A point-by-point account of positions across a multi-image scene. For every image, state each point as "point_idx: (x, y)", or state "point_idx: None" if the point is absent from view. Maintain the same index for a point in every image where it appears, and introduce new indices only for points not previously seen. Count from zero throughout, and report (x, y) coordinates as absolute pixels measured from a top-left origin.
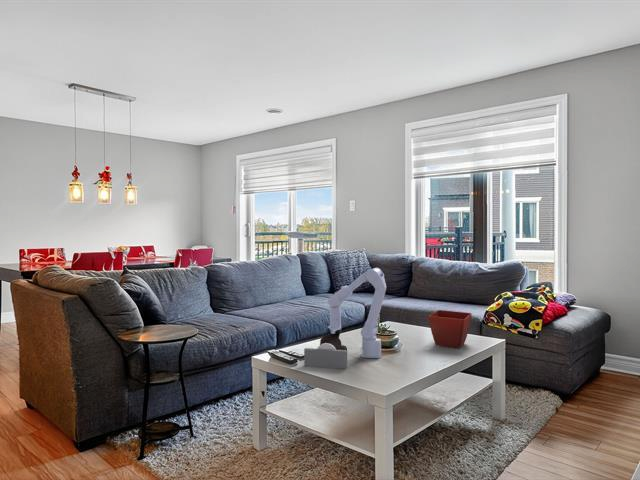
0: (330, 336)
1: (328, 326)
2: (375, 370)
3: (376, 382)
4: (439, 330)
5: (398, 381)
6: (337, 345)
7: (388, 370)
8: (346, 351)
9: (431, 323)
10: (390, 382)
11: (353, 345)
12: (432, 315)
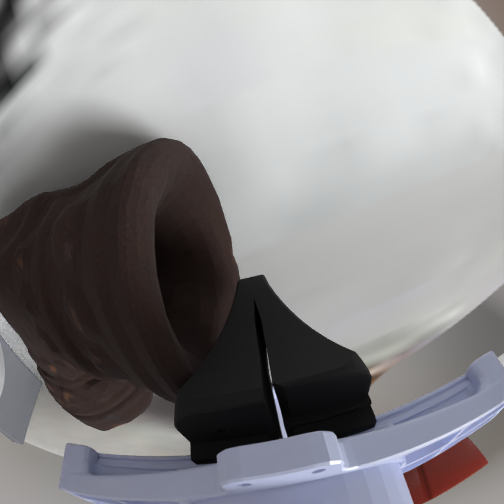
0: (136, 376)
1: (284, 478)
2: (95, 436)
3: (35, 433)
4: (407, 477)
5: None
6: (67, 402)
7: (123, 452)
8: (12, 440)
9: (420, 486)
10: (60, 448)
11: (437, 283)
12: (450, 484)
